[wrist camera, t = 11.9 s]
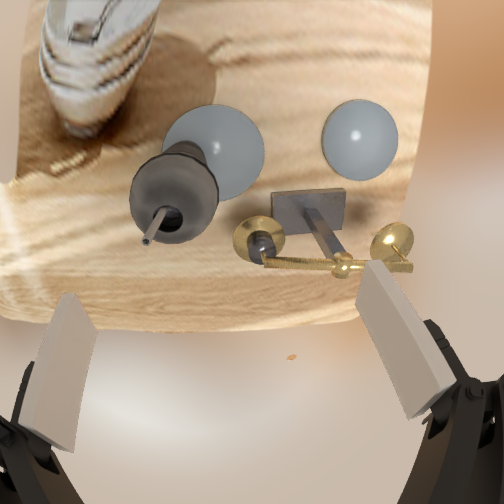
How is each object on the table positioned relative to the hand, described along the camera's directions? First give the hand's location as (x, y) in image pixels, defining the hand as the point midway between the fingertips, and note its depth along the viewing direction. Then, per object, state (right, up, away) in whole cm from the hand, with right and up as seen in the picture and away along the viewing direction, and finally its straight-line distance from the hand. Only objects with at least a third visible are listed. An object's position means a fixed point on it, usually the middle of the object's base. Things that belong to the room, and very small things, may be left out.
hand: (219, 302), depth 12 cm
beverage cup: (-6, +13, +19) cm, 24 cm away
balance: (+9, +8, +27) cm, 29 cm away
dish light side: (+16, +17, +21) cm, 31 cm away
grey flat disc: (-3, +14, +20) cm, 25 cm away
